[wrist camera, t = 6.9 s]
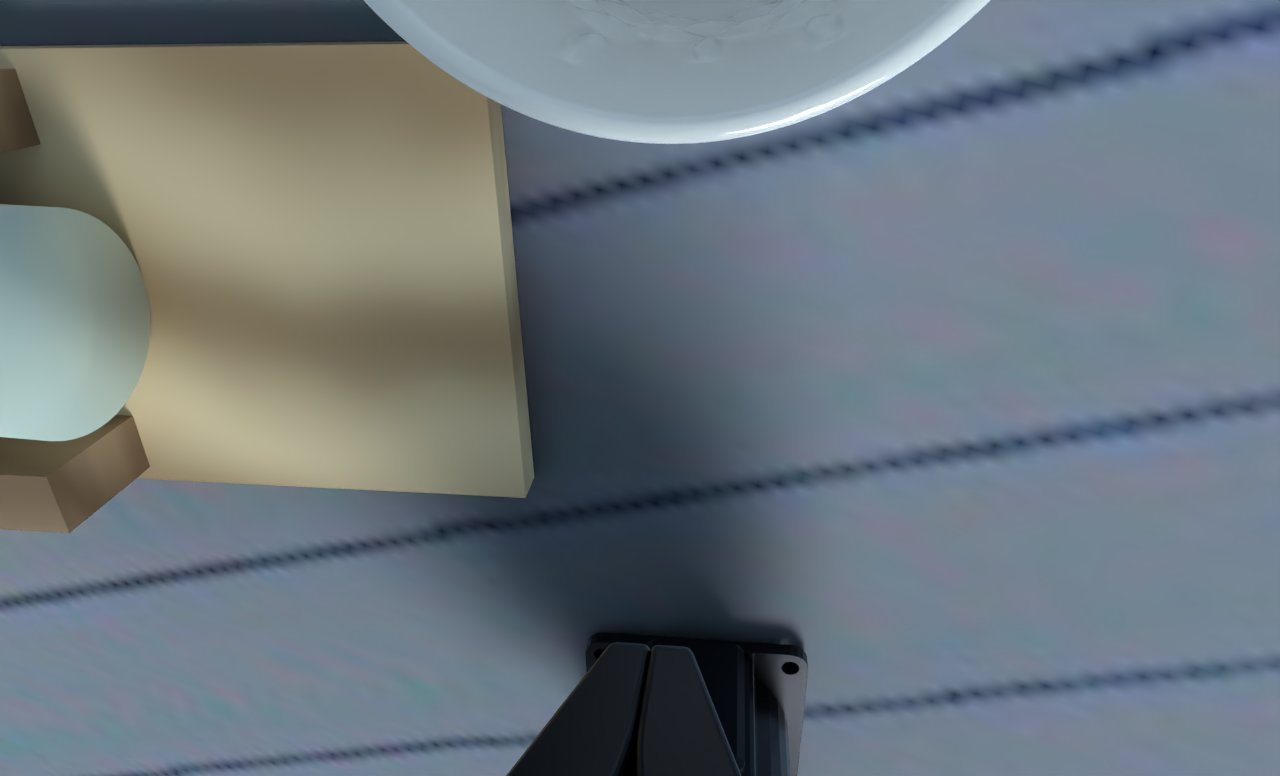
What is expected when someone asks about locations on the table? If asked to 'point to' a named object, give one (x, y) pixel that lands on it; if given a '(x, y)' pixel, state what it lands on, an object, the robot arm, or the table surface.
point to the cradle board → (281, 268)
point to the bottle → (66, 323)
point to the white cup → (674, 58)
